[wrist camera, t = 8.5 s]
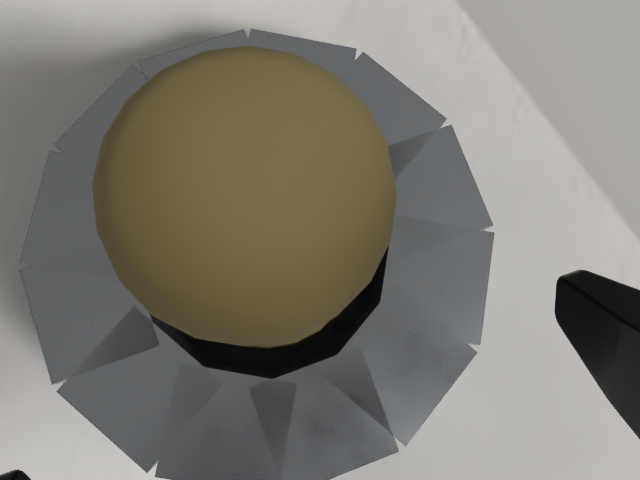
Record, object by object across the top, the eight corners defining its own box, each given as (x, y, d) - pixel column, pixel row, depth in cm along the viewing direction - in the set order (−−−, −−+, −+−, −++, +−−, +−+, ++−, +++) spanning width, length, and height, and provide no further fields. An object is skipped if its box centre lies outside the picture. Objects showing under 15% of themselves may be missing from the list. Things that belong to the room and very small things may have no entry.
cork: (380, 319, 19) (501, 302, 8) (209, 376, 18) (87, 441, 7) (326, 156, 20) (368, -60, 9) (160, 205, 19) (-14, 39, 8)
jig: (482, 113, 21) (513, 78, 18) (431, 497, 19) (457, 529, 16) (119, 45, 21) (91, -2, 18) (21, 426, 18) (-30, 444, 15)
